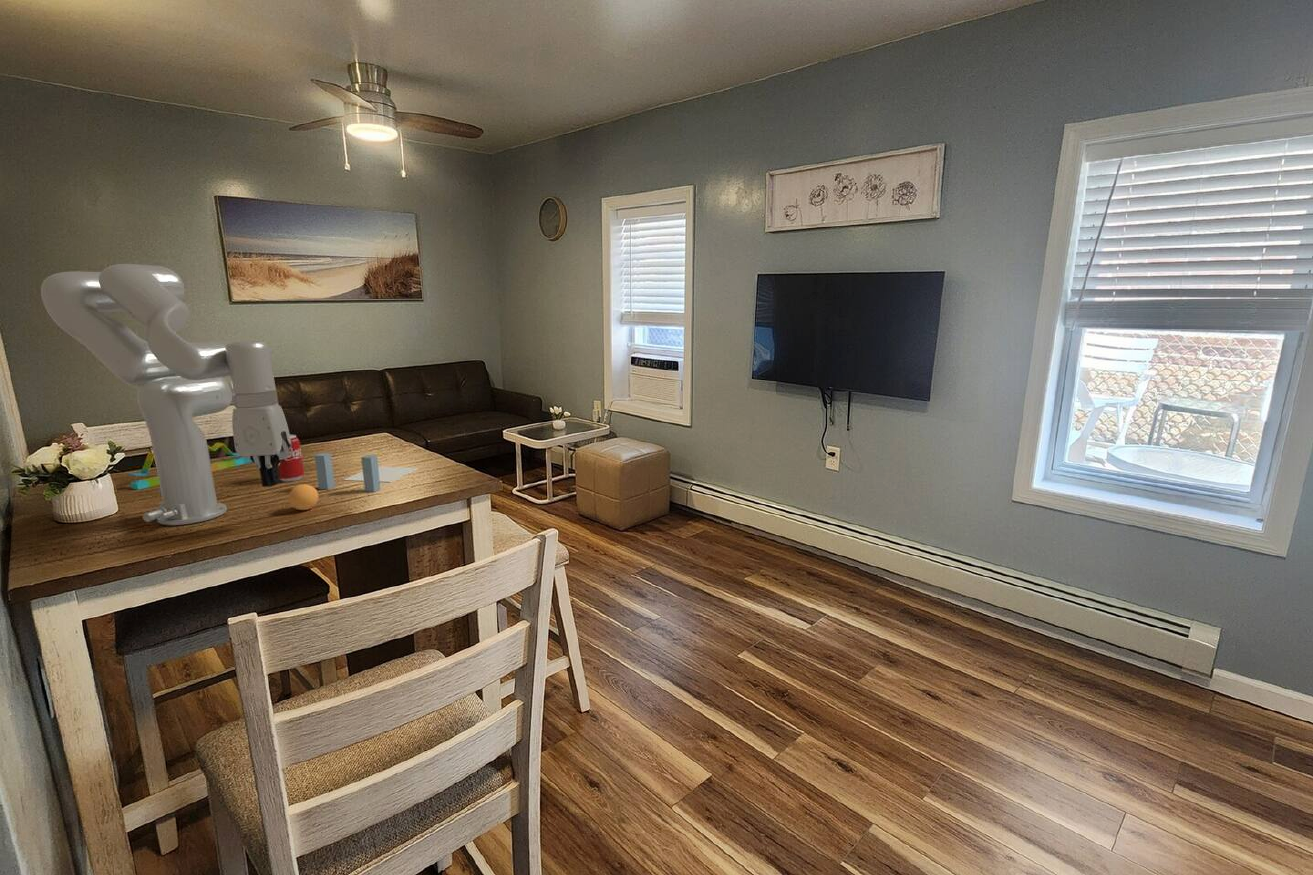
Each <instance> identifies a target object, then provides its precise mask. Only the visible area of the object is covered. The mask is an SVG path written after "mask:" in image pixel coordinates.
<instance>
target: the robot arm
mask: <svg viewBox="0 0 1313 875" xmlns="http://www.w3.org/2000/svg"><path fill="white" fill-rule="evenodd" d="M185 291H186V290H185V285H184V282H183V280H182V279H181V277H180V276H179V275H178V273H177V272H175V271H174V270H172V269H171V268H169V267H166V266H162V265H152V264H136V263H135V264H134V263H116V264H113V265H109V266H108V267H106V268H104V269H103V270H102V271H84V270H83V271H82V270H80V271H79V270H78V271H77V270H76V271H75V270H74V271H73V270H72V271H62V272H61V271H60V272H57V273H53V274H51V275H49V276H47V277H46V278H45V279H44V280H43V281H42V283H41V286H40V296H41V300H42V304H43V306H44V308H45V310H46V311H47V313H48V315H49V317H50V318H51V319H52V320H53V322H54V323H55V324H56V325H57V326H58V327H59V328H60V329H61V330H63V331H64V332H65V333H66V334H68V335H69V336H70V337H72V338H73V339H75V341H77V342H79V343H80V344H81V345H82V346H84V347H85V348H86V349H87V350H88V351H90V353H91V354H93V356H94V357H95V358H97V360H99V361H100V362H101V363H102V364H103V365H104V366H105V367H106V368H107V369H108V370H109V371H110V372H111V373H112V374H113V375H114V376H115V377H116V378H117V379H119V380H120V381H121V382H123V383H124V384H126V385H128V386H131V387H140V388H138V391H137V394H136V402H137V406H138V409H139V410H140V413H141V414H142V417H143V419H144V422H145V424H146V428H147V430H148V434H149V437H150V443H151V448H152V451H153V452H152V453H154V461H155V467H156V473H157V476H158V478H159V483H160V485H159V488H160V493H161V499H162V501H161V502H159V503H158V507H157V508H156V509H155V510H151V511H149V512H145V513H143V515H142V519H143V520H144V521H145V522H146V523H150V522H152V521H155V520H157V523H158V524H160V525H165V526H181V525H191V524H196V523H200V522H205V521H208V520H212V519H215V518H217V517H220V516H221V515H222V516H223V515H224V514H225V513H226V512H227V511H228V510H227V509H228V507H227V505H226V504H224V503H223V502H222V503H221V502H218V500H217V499H218V498H217V495H216V494H217V493H216V489H215V488H216V486H215V482H214V477H213V476H214V475H213V472H212V469H211V464H212V463H211V459H210V458H211V457H210V452H209V450H208V446H209V445H208V443H207V437H206V435H205V432H203V430H202V429H201V427H199V425H197V423H196V422H195V421H194V420H193V419H195V418H196V417H197V418H198V417H202V416H209V415H213V414H216V413H220V412H223V411H225V410H227V408H229V407H230V405H231V403H232V402H234V404H235V408H233V409H232V416H231V417H232V419H231V420H232V422H231V424H232V436H233V443H234V449H235V453H238V454H240V455H239V456H241V457H243V458H244V459H248V460H251V461H252V463H254V464H255V468H256V469H258V470H259V474H260V479H261V485H262V487H264V488H266V487H267V488H271V487H274V486H277V485H279V484H281V480H280V477H279V471H278V466H279V465H280V462H281V460H282V459H285V458H289V457H290V456H291V454H290V452H289V449H290V448H291V439H290V435H291V434H290V430H289V426H288V423H287V419H286V416H285V413H284V411H283V408H282V406H281V405H279V399H278V393H277V388H276V383H275V377H274V376H275V375H274V371H273V365H272V358H271V352H270V349H269V345H268V344H267V343H266V342H264V341H262V340H230V339H229V340H228V339H227V340H226V339H225V340H209V341H196V342H192V341H191V342H189V341H187V340H185V339H183V337H181V336H180V335H179V334H177V332H178V331H180V330H181V329H182V328H183V327H184V326H185V325H186V324H187V322H188V320H189V317H190V310H189V307H188V306H187V305H186V303H185V302H183V301H182V299H183V298H184V296H185ZM103 312H104V313H103ZM105 312H126V313H128V314H129V315H130V316H131V317H133V318H134V319H135V320H136V321H138V322H139V323H140V324H141V325H143V327H145V328H146V329H145V338H146V340H144V339H142V338H141V337H139V336H138V335H137V334H136V333H135V332H134V331H133V330H132V329H130V327H129V326H127V325H126V324H125V323H123V322H121V321H119V320H117V319H116V318H113V317H111V316H109V315H107V314H105ZM228 377H230V384H231V387H230V385H229V383H228V382H227V381H226V380H225V378H228ZM207 445H208V446H207Z"/></svg>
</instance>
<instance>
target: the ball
mask: <svg viewBox="0 0 1313 875" xmlns="http://www.w3.org/2000/svg"><path fill="white" fill-rule="evenodd" d="M318 501H319V493H318V491H317V489H316V488H315V487H314V486H312V485H310V484H307V483H306V484H305V483H304V484H298V485H296V486H294V487H293V488H292V489H291V490H290V492H289V494H288V502H289V505H291V506H292V507H293V508H294V509H296V510H300V511H306V510H307V511H308V510H310V509H312V508H313V507H314V506H316V505H317V503H318Z"/></svg>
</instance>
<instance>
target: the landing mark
mask: <svg viewBox="0 0 1313 875" xmlns="http://www.w3.org/2000/svg"><path fill="white" fill-rule="evenodd" d="M418 469H419V467H404V466H403V467H402V466H400V467H399V466H381V465H380V466H379V465H378V471H379V480H380V483H392V482H394V481H397V480H398V479H401V478H403V477H405V476H406V475H409V474H410V473H412V472H413V473H414V472H415V471H417V470H418ZM343 481H346V482H348V481H349V482H350V481H352V482H364V478H363V470H362V471H360V472H358V473H356V474H353V475H351V476H349V477H346V478H343Z"/></svg>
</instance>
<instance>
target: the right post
mask: <svg viewBox="0 0 1313 875" xmlns="http://www.w3.org/2000/svg"><path fill="white" fill-rule="evenodd" d="M360 459H361V467H362V471H363V478H364V481H363V485H364V491H365V492H366V493H367V492H368V493H370V492H371V493H376V492H377V491H379V490H381V482H380V480H379V471H378V466H379V464H378V455H376V454H375V455H374V454H366V455H363V456H361V458H360Z"/></svg>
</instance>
